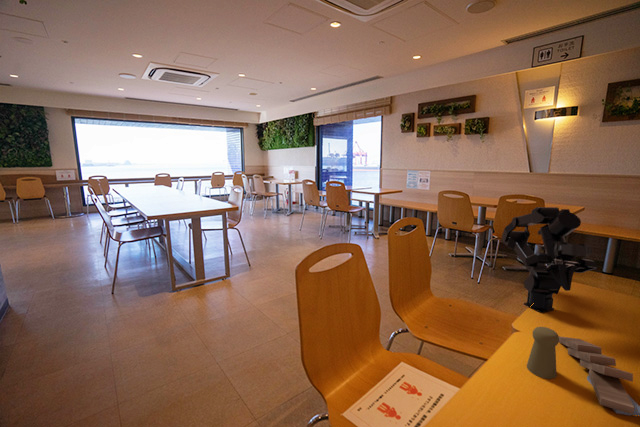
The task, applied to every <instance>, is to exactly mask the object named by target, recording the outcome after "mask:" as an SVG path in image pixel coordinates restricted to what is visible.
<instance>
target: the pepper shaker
mask: <svg viewBox="0 0 640 427" xmlns="http://www.w3.org/2000/svg"><path fill="white" fill-rule="evenodd" d="M532 338H533V344H532V347H531V350H530V354H529V357H528V360H527V363H526V368H527V370H528V371H529V372H530V373H531V374H533V375H534V376H537V377H538V378H542V379H546V380H554V379H556V378H557V376H558V375H557V374H558V373H557V353H556V352H557V350H556V347H557V346H558V344H560V342H559V334H558V333H557V332H556V331H555V330H554V329H551V328H550V327H546V326H536V327H535V328H533V331H532Z"/></svg>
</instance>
